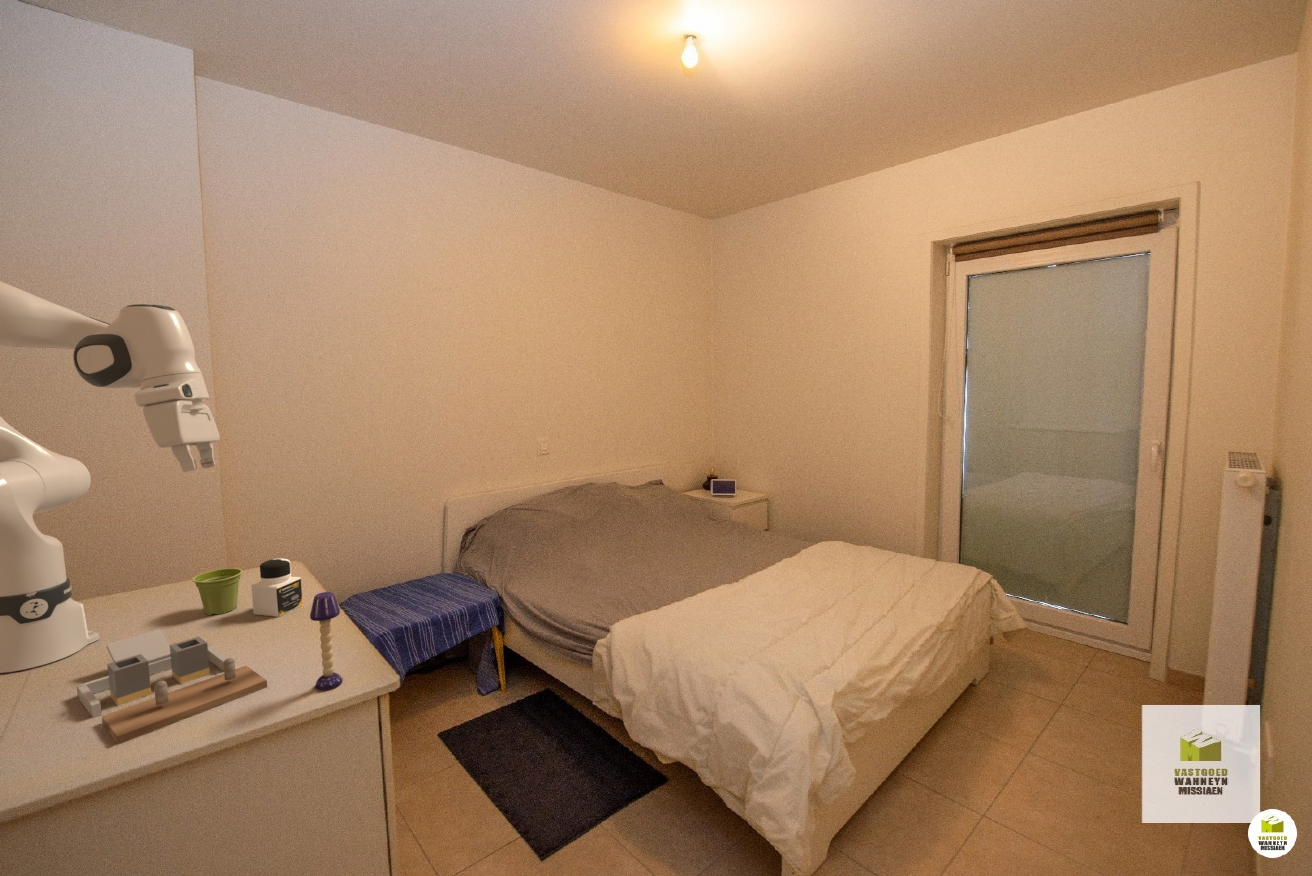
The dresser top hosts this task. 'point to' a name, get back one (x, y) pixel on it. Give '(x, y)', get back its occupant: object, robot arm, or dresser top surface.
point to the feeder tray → (145, 644)
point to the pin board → (182, 702)
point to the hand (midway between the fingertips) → (200, 469)
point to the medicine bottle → (276, 589)
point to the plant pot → (218, 589)
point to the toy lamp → (326, 637)
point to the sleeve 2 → (189, 659)
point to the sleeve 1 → (129, 679)
